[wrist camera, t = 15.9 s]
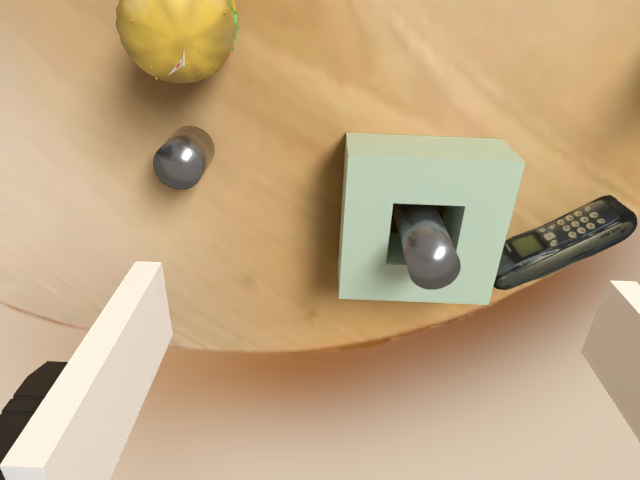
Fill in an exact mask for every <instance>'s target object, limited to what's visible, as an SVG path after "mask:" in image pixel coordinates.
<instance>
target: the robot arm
mask: <svg viewBox="0 0 640 480" xmlns="http://www.w3.org/2000/svg"><path fill="white" fill-rule="evenodd" d="M172 335H173V334H172V327H171V321H170V314H169V308H168V301H167V295H166V288H165V281H164V275H163V268H162V262H138V261H135V263H134V264H133V266H132V267H131V269H130V270H129V272H128V273H127V275H126V276H125V278H124V279H123V281H122V282H121V284H120V285H119V287H118V288H117V290H116V291H115V293H114V294H113V296H112V297H111V299H110V300H109V302H108V303H107V305H106V306H105V308H104V309H103V311H102V312H101V314H100V315H99V317H98V318H97V320H96V321H95V323H94V324H93V326H92V327H91V329H90V330H89V332H88V333H87V335H86V336H85V338H84V339H83V341H82V342H81V344H80V345H79V347H78V348H77V350H76V351H75V353H74V355H73V356H72V357H71V359H70V360H69V362H52V361H47V362H46V363H45V364H43V365H42V366H41V367H39V368H38V369H37V370H36V371H34V372H33V373H32V374H30V375H29V376H28V377H27V378H26V379H25V380H24V382H23V383H22V385H21V386H20V387H19V388H18V390H17V391H16V393H15V394H14V397H13V399H10V401H9V402H8V403H7V405H6V406H5V407H4V409H3V410H2V414H1V415H0V480H110V479H111V476H112V474H113V472H114V469H115V467H116V465H117V462H118V460H119V458H120V456H121V453H122V451H123V449H124V446H125V444H126V442H127V439H128V437H129V435H130V432H131V430H132V428H133V426H134V423H135V421H136V419H137V416H138V414H139V412H140V409H141V407H142V405H143V402H144V400H145V398H146V395H147V393H148V391H149V389H150V386H151V384H152V382H153V379H154V377H155V374H156V372H157V370H158V368H159V365H160V363H161V361H162V358H163V356H164V354H165V352H166V349H167V347H168V345H169V342H170V340H171V338H172ZM581 352H582V354H583V355H584V357H585V358H586V360H587V361H588V363H589V364H590V366H591V367H592V369H593V370H594V372H595V374H596V375H597V377H598V378H599V380H600V381H601V383H602V384H603V386H604V387H605V389H606V391H607V392H608V394H609V395H610V397H611V398H612V399H613V401H614V403H615V404H616V406H617V407H618V409H619V410H620V412H621V414H622V415H623V417H624V418H625V420H626V421H627V423H628V424H629V426H630V427H631V429H632V431H633V432H634V434H635V435H636V437H637V438H638V440H639V441H640V285H639V284H638V283H637V282H634V281H632V282H631V281H609V284H608V286H607V289H606V291H605V294H604V296H603V299H602V301H601V304H600V306H599V309H598V311H597V314H596V316H595V319H594V321H593V324H592V326H591V329H590V331H589V334H588V336H587V338H586V341H585V344H584V346H583V348H582V351H581Z"/></svg>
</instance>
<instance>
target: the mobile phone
mask: <svg viewBox="0 0 640 480" xmlns="http://www.w3.org/2000/svg"><path fill="white" fill-rule="evenodd" d="M636 226H637V217H636V215H635V214H634V212H632V211H631V210H630V209H628V208H627V207H626V206H624V205H623V204H622V203H620V202H619V201H618V200H617V199H616V198H614V197H613V196H611V195H608V196H603V197H601V198H599V199H597V200H595V201H593V202H591V203H589V204H587V205H585V206H583V207H581V208H579V209H577V210H575V211H573V212H571V213H569V214H566V215H564V216H562V217H560V218H558V219H556V220H554V221H552V222H550V223H548V224H545V225H543V226H541V227H538V228H536V229H533V230H530V231H528V232H525V233H523V234H520V235H517V236H515V237H513V238H512V239H510V240H508V241H506V242H505V244H504V247H503V251H502V255H501V259H500V263H499V267H498V271H497V274H496V278H495V282H494V287H495V288H497V289H501V290H507V289H511V288H514V287H516V286H519V285H521V284H524V283H526V282H529V281H532V280H536V279H540V278H543V277H545V276H547V275H550V274H552V273H554V272H556V271H558V270H560V269H563V268H565V267H567V266H569V265H571V264H573V263H575V262H578V261H580V260H582V259H585V258H588V257H590V256H592V255H595V254H597V253H599V252H601V251H603V250H605V249H607V248H609V247H611V246H614V245H616V244H618V243H619V242H621V241H623V240H625V239H626V238H628V237H629V236H630V235H631V234H632V233H633V232H634V230H635V229H636Z"/></svg>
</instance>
